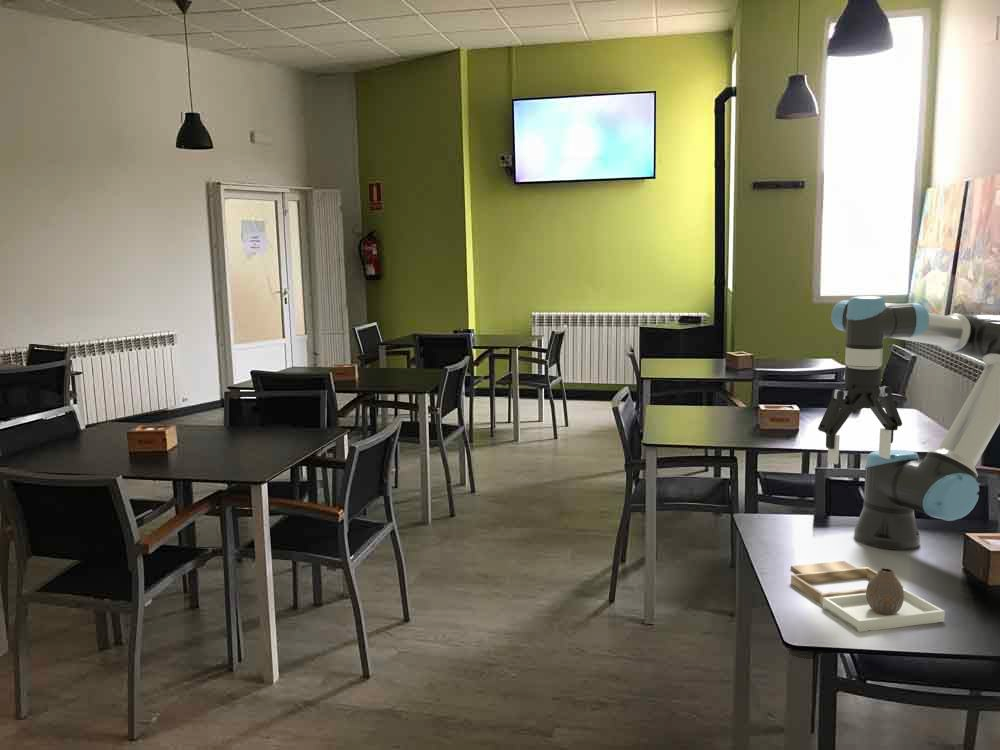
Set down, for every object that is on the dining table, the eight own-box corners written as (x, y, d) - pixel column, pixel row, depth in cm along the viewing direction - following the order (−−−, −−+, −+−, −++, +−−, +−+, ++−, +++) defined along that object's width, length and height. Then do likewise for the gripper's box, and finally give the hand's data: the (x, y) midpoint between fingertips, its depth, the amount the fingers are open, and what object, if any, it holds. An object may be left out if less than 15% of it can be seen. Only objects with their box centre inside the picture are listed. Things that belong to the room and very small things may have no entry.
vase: (881, 620, 164) (884, 578, 163) (857, 606, 170) (860, 565, 169) (910, 616, 166) (913, 574, 165) (885, 602, 172) (888, 562, 171)
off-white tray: (903, 598, 176) (904, 588, 175) (944, 621, 165) (944, 611, 164) (822, 607, 171) (823, 597, 171) (858, 632, 160) (859, 621, 160)
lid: (843, 564, 195) (844, 560, 195) (860, 573, 190) (860, 570, 189) (790, 569, 192) (790, 566, 192) (806, 579, 186) (806, 575, 186)
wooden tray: (867, 575, 189) (867, 566, 188) (902, 595, 178) (902, 586, 177) (790, 583, 184) (791, 574, 184) (822, 604, 173) (822, 595, 173)
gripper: (898, 361, 191) (893, 451, 194) (803, 367, 185) (800, 460, 188) (922, 365, 184) (917, 459, 187) (825, 372, 177) (821, 469, 181)
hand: (858, 460), depth 187 cm, fingers open, 13 cm apart
